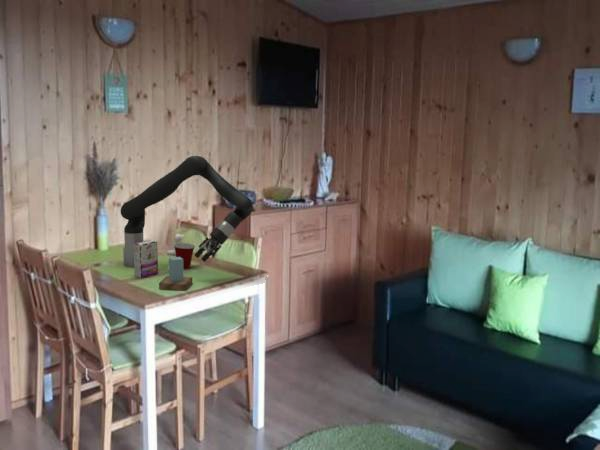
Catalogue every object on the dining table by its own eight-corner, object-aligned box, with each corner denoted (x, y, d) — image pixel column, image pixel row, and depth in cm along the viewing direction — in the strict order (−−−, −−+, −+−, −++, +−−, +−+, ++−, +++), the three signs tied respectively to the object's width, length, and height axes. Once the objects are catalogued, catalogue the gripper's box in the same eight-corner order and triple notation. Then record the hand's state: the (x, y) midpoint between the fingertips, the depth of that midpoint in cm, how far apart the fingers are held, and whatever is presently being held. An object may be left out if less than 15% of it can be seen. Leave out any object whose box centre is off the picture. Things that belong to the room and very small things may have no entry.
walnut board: (159, 289, 267) (159, 283, 266) (166, 282, 278) (166, 276, 278) (185, 290, 266) (185, 284, 265) (192, 283, 278) (192, 277, 277)
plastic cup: (190, 271, 299) (190, 247, 297) (170, 269, 302) (170, 245, 299) (198, 266, 310) (198, 243, 308) (178, 264, 312) (178, 241, 310)
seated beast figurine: (179, 251, 340) (178, 231, 338) (189, 254, 335) (189, 233, 333) (166, 254, 333) (166, 233, 330) (177, 257, 328) (176, 235, 326)
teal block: (172, 282, 268) (172, 260, 266) (168, 279, 272) (168, 257, 271) (183, 280, 271) (183, 259, 269) (179, 278, 275) (179, 256, 273)
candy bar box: (151, 272, 295) (150, 239, 292) (158, 273, 292) (158, 240, 289) (133, 277, 286) (133, 243, 283) (141, 278, 283) (140, 244, 280)
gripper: (211, 224, 284) (188, 250, 280) (223, 229, 272) (199, 256, 268) (221, 234, 287) (199, 260, 283) (234, 240, 275) (210, 267, 271)
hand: (199, 258), depth 276 cm, fingers open, 8 cm apart
